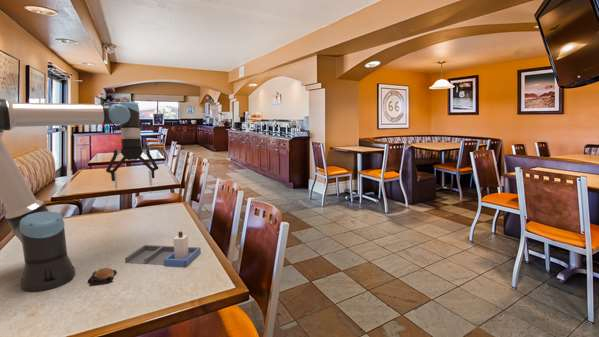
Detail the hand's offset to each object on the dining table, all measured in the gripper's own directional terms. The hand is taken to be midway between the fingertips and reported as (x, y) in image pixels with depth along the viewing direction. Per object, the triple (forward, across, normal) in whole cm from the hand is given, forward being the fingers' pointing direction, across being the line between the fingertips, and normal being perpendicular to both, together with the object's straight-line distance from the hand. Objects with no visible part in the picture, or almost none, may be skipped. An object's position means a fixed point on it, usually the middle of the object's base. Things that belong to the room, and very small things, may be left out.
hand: (134, 187), depth 143 cm
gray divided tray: (+28, -7, +20) cm, 35 cm away
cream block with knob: (+28, -13, +25) cm, 39 cm away
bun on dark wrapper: (+30, +14, +25) cm, 41 cm away
